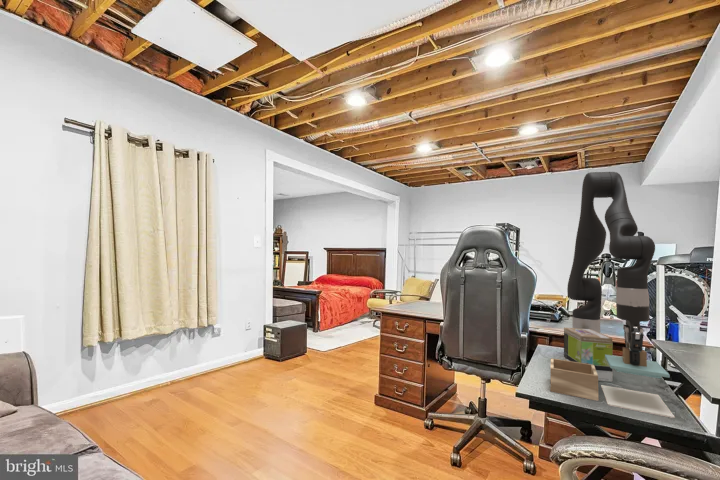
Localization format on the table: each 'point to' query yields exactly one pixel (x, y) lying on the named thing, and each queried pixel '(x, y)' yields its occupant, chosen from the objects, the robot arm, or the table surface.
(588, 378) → the crate
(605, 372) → the tea box
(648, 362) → the lid
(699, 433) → the table surface
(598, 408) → the table surface
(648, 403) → the mat
